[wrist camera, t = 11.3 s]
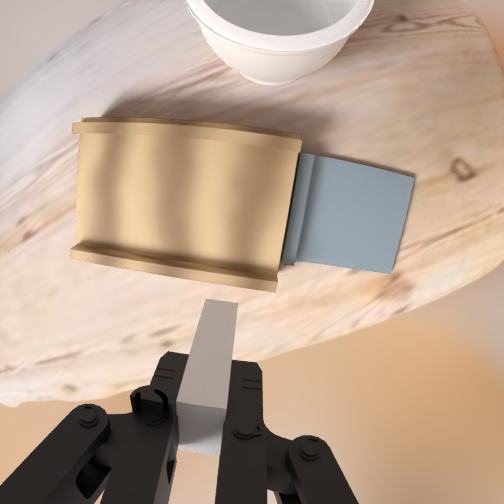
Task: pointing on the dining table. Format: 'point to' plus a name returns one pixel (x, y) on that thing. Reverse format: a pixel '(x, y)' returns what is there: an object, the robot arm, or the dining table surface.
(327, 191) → the cover plate
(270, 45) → the jar
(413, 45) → the dining table surface
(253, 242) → the slide box
